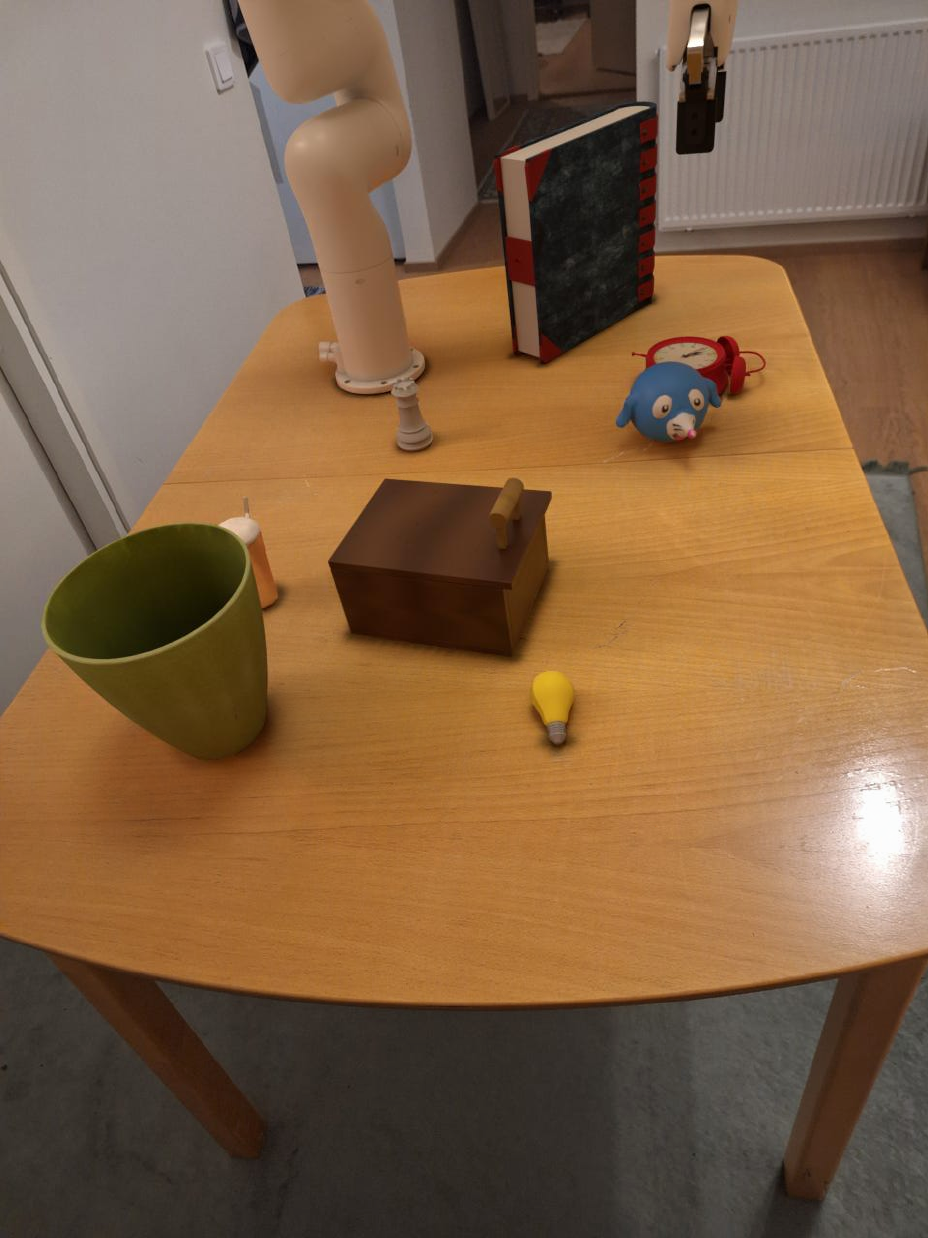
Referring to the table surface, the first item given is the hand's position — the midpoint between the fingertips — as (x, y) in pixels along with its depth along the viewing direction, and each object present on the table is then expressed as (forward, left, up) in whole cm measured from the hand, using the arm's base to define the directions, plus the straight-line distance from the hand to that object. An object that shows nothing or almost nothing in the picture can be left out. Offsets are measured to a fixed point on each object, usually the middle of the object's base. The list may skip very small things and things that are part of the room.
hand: (700, 136), depth 74 cm
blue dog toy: (-1, -5, -29) cm, 30 cm away
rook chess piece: (-31, -8, -29) cm, 43 cm away
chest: (-17, -34, -29) cm, 48 cm away
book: (-17, +25, -29) cm, 42 cm away
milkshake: (-36, -37, -29) cm, 59 cm away
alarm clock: (0, +9, -29) cm, 30 cm away
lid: (-16, -34, -21) cm, 44 cm away
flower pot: (-31, -53, -29) cm, 68 cm away
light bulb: (-4, -46, -29) cm, 55 cm away
